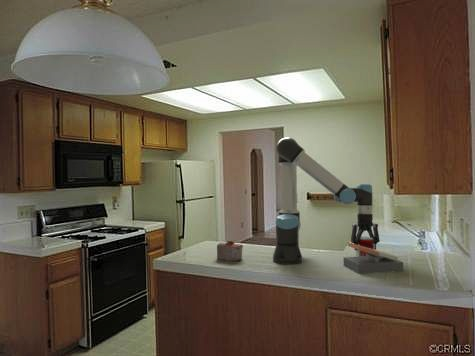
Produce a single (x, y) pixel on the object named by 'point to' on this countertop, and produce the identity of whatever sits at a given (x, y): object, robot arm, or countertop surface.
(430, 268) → the countertop surface
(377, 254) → the rocker switch
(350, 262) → the switch base
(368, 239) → the canned food
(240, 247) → the food item
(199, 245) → the countertop surface
